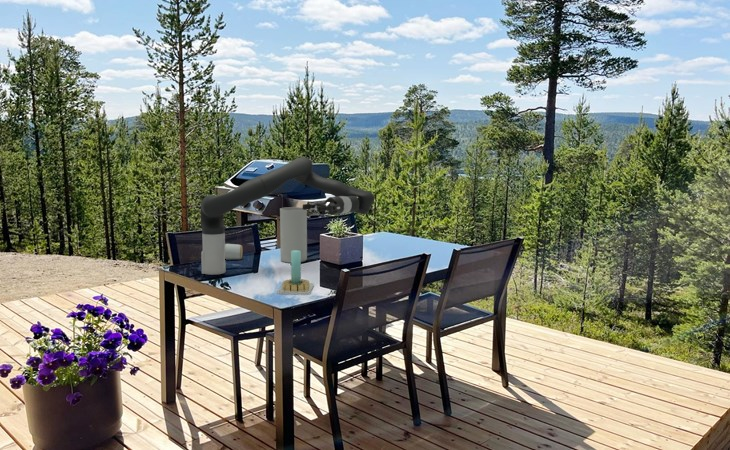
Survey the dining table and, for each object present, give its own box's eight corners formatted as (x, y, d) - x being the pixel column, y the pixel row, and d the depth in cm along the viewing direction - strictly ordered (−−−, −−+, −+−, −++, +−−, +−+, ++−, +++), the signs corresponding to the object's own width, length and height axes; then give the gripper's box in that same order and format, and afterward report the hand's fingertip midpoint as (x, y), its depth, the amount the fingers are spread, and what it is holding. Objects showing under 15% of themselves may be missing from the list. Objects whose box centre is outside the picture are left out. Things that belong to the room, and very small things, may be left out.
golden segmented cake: (277, 293, 202) (277, 286, 202) (283, 285, 215) (283, 277, 215) (309, 294, 202) (309, 286, 202) (313, 285, 215) (313, 278, 214)
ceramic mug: (241, 260, 259) (241, 244, 258) (224, 261, 258) (223, 245, 257) (243, 256, 269) (243, 241, 268) (226, 256, 268) (226, 241, 267)
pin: (290, 288, 207) (290, 252, 205) (292, 285, 210) (292, 250, 208) (300, 288, 207) (299, 252, 205) (301, 285, 210) (301, 250, 208)
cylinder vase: (291, 256, 270) (291, 206, 266) (312, 259, 263) (311, 208, 260) (275, 261, 259) (274, 209, 255) (296, 264, 253) (296, 210, 249)
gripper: (326, 195, 234) (298, 197, 222) (351, 197, 224) (322, 200, 212) (326, 212, 235) (298, 215, 223) (350, 215, 225) (322, 219, 213)
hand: (310, 208), depth 218 cm, fingers open, 8 cm apart
